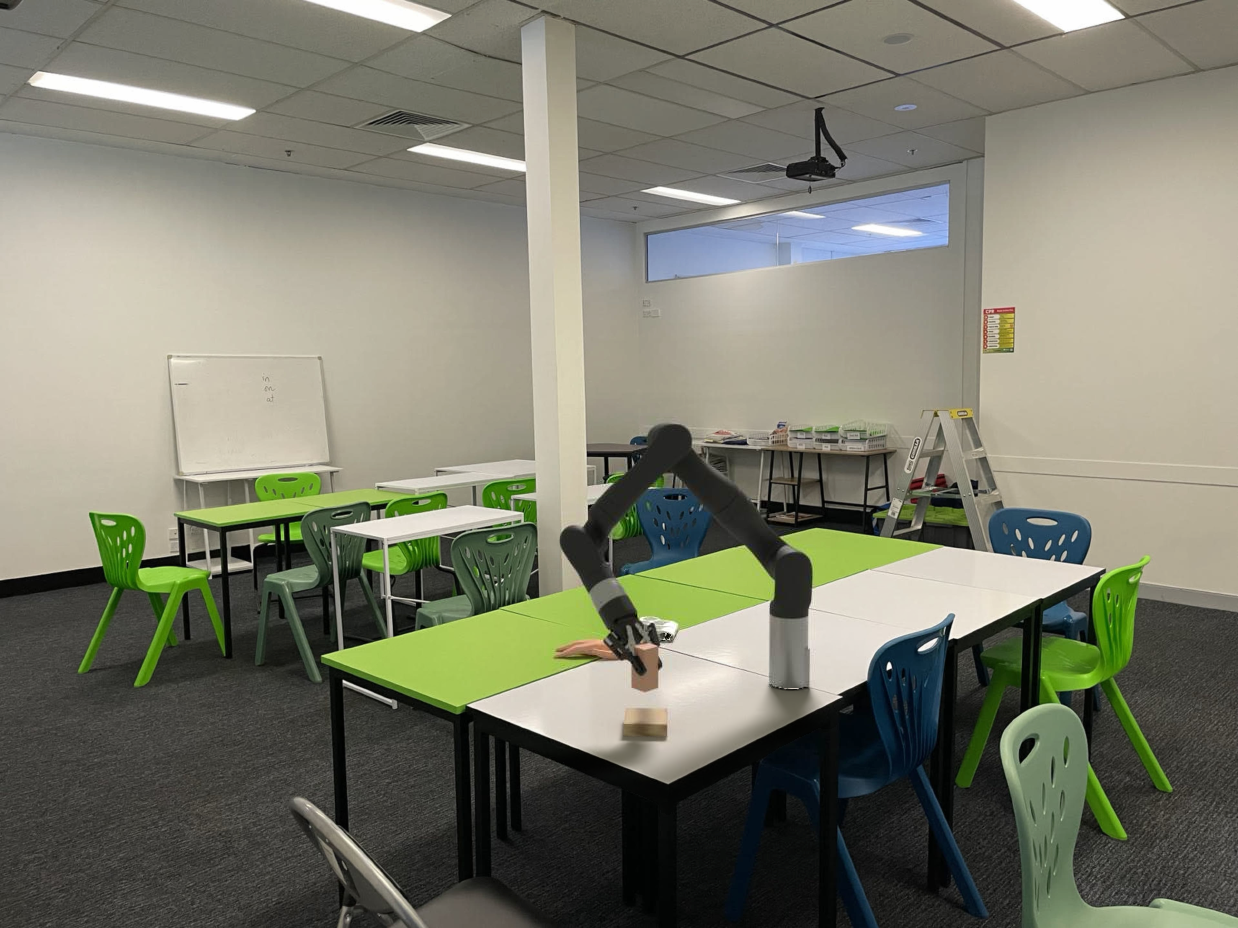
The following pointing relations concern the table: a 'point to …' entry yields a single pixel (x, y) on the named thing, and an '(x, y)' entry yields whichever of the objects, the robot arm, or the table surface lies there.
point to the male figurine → (587, 649)
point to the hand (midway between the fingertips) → (651, 671)
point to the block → (650, 661)
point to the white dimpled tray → (662, 626)
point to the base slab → (645, 722)
